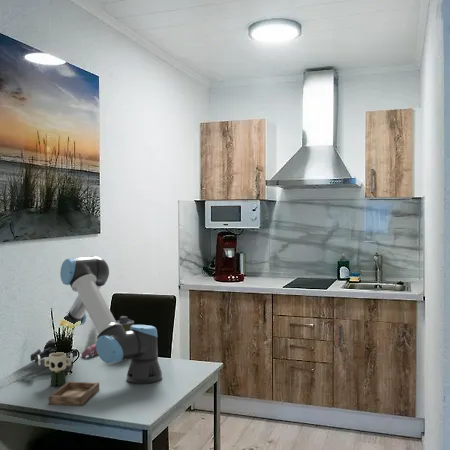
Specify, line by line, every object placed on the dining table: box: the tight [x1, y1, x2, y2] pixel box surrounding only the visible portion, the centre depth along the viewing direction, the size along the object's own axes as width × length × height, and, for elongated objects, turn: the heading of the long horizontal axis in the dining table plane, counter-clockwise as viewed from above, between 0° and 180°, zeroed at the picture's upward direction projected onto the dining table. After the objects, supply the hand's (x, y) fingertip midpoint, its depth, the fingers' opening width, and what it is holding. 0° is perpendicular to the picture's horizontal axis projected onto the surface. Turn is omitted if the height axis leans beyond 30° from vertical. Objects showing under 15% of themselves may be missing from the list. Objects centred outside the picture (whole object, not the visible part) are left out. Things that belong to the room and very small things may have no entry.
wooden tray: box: [48, 381, 100, 407], centre depth 209 cm, size 13×17×3 cm
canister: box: [115, 315, 135, 331], centre depth 266 cm, size 11×10×20 cm
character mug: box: [44, 352, 72, 387], centre depth 224 cm, size 11×7×13 cm, turn 96°
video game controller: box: [81, 343, 98, 358], centre depth 268 cm, size 10×5×7 cm, turn 148°
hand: (55, 360), depth 233 cm, fingers open, 13 cm apart
